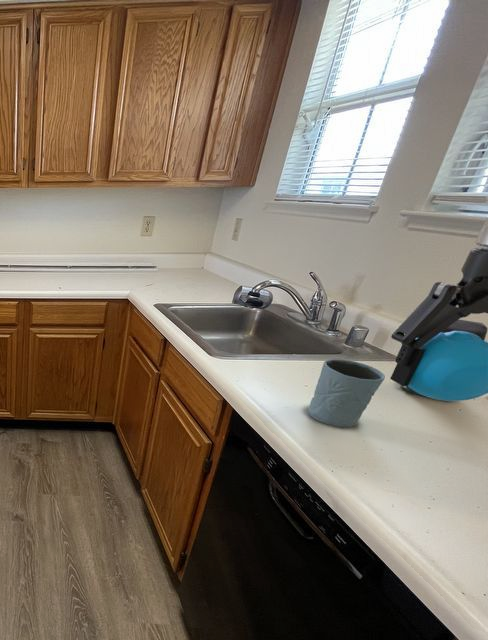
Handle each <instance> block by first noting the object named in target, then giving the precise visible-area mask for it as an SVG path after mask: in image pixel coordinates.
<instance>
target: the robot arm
mask: <svg viewBox="0 0 488 640" xmlns="http://www.w3.org/2000/svg"><path fill="white" fill-rule="evenodd" d="M474 243H475V244H476V245H477V246H478V247H474V248H473V249H470V250H469V252H468V255H467V257H466V259H465V261H464V263H463V265H462V267H461V270H460V271H461V273H462V278H461V279H460V281H458V282H457V283H456V284H452V283H447V282H443V281H437V282H435V283H434V284H433V286H432V287H431V289H430V291H429V293H428V295H427V296H426V297H425V298H424V299H423V301H421V303H420V304H419V305H418V306H417V307H416V308H415V309H414V310H413V312H411V314H410V315H408V316H407V318H406V319H405V320H404V321H403V322H402V323H401V324H400V325H399V326H398V327H397V329H395V331H394V332H393V333H392V334H391V336H390V338H391V339H392V340H394V341H397V342H399V343H401V347H400V348H399V351H398V353H397V355H396V357H395V363H396V365H395V367H394V369H393V372H392V374H391V376H390V380H392V381H393V382H394V383H397V384H398V385H400V386H401V385H402V386H408V385H409V383H410V381H411V379H412V377H413V375H414V373H415V371H416V369H417V366H418V364H419V362H420V360H421V358H422V356H423V354H424V352H425V350H426V349H423V348H421V346H423V345H424V344H425V343H427V342H428V341H430V340H431V339H432V338H434V337H435V336H436V335H438V334H439V333H441V332H442V331H443V330H445V329H446V328H447V327H449V326H450V325H452V324H453V323H454V322H456V321H457V320H461V319H463V318H467V317H469V316H470V315H471V314H472V315H480V314H484V313H485V314H488V215H487V217H486V218H485V220H484V223H483V224H482V227H481V229H480V231H479V233H478V235H477V237H476V239H475V241H474ZM416 338H418V339H416ZM402 386H401V387H402Z"/></svg>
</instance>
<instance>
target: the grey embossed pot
mask: <svg viewBox="0 0 488 640" xmlns="http://www.w3.org/2000/svg"><path fill="white" fill-rule="evenodd" d="M385 378H386V375H385V373H383V372H382V371H381V370H379V369H377V368H375V367H373V366H371V365H368V364H366V363H362V362H359V361H354V360H348V359H341V358H330V359H326V360H324V361H323V364H322V367H321V370H320V374H319V377H318V380H317V383H316V386H315V389H314V393H313V396H312V398H311V400H310V402H309V405H308V406H309V407H308V410H307V412H308V415H309V416H311V417H312V418H313V419H314V420H317V421H318V422H321V423H323V424H326V425H329V426H333V427H336V428H337V427H338V428H353V427H355V426H356V425H357V423H358V422H359V420H360V418H361V417H362V415H363V414H364V412H365V410H366V409H367V407H368V405H369V404H370V402H371V400H372V397H373V396H374V395H375V393H376V392H377V391H378V389H379V388H380V386H381V385H382V384H383V382H384V381H385Z"/></svg>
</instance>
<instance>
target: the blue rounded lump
mask: <svg viewBox="0 0 488 640" xmlns="http://www.w3.org/2000/svg"><path fill="white" fill-rule="evenodd" d="M416 339H418V338H416ZM421 348H423V349H426V350H425V352H424V354H423V356H422V358H421V360H420V362H419V364H418V366H417V369H416V371H415V373H414V375H413V377H412V379H411V381H410V383H409V385H408V387H410V388H411V389H412V390H414V391H415V392H417V393H419V394H418V395H420V394H421V395H420V396H424V397H427V398H430V399H432V400H437V401H443V402H461V401H469V400H473V399H477V398H480V397H483V396H485V395H487V394H488V341H486V340H482V339H481V338H480V337H479V336H477V335H476V334H473V333H469V332H465V331H452V332H446V333H442V332H441V333H439V334H438V335H436V336H435V337H434V338H432V339H431V340H430V341H428V342H427V343H425V344H424V345H423V346H421Z"/></svg>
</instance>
